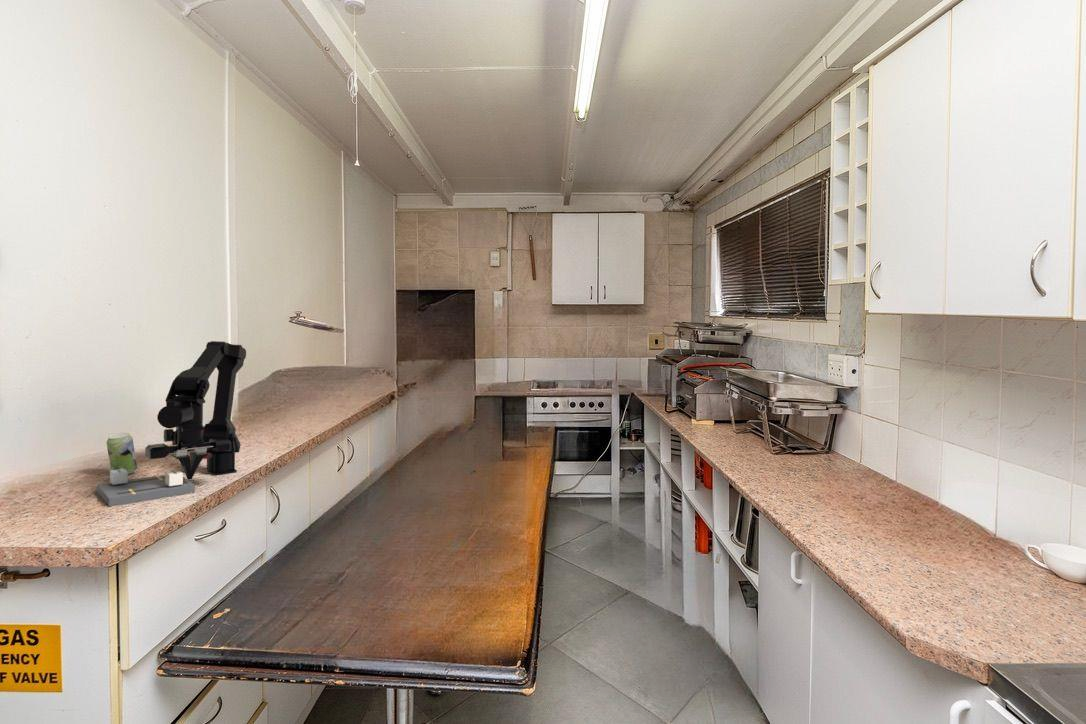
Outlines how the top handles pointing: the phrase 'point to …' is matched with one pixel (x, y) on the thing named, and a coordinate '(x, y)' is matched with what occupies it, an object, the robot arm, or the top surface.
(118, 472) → the white fader
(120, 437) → the beverage can
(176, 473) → the cream fader
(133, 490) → the console
